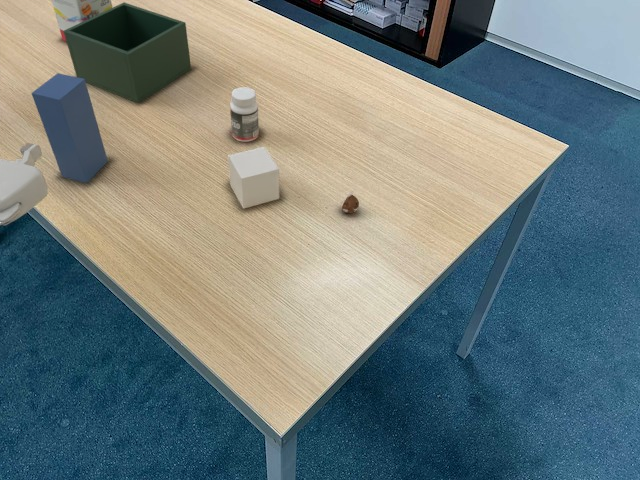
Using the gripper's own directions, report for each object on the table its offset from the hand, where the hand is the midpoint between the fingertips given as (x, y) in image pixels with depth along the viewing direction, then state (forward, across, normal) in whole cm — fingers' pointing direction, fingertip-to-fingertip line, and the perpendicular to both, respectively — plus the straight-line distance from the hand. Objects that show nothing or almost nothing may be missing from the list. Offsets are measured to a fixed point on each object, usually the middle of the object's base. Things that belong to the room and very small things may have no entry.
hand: (4, 140), depth 70 cm
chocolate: (+17, -43, +14) cm, 48 cm away
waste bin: (+42, +8, +14) cm, 44 cm away
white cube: (+16, -27, +14) cm, 35 cm away
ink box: (+51, +24, +14) cm, 58 cm away
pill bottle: (+30, -20, +14) cm, 39 cm away
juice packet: (+12, 0, +14) cm, 18 cm away
